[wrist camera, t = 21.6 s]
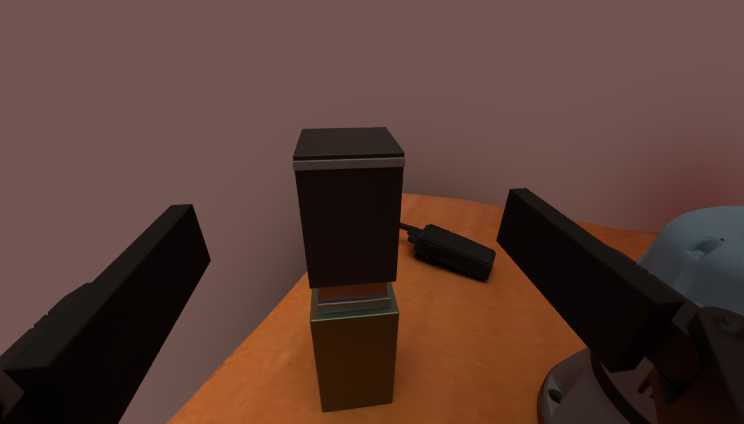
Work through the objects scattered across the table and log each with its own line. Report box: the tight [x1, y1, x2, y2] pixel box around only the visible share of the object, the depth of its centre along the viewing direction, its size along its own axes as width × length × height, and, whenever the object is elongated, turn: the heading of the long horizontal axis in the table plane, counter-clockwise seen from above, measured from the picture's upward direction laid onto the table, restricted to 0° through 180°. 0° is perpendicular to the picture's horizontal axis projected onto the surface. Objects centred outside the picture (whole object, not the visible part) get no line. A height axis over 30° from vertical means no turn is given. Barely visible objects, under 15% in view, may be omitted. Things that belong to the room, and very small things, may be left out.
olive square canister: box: [310, 282, 399, 412], centre depth 28 cm, size 7×7×16 cm
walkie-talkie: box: [400, 223, 496, 280], centre depth 49 cm, size 6×6×20 cm
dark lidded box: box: [293, 127, 405, 289], centre depth 22 cm, size 6×6×10 cm
